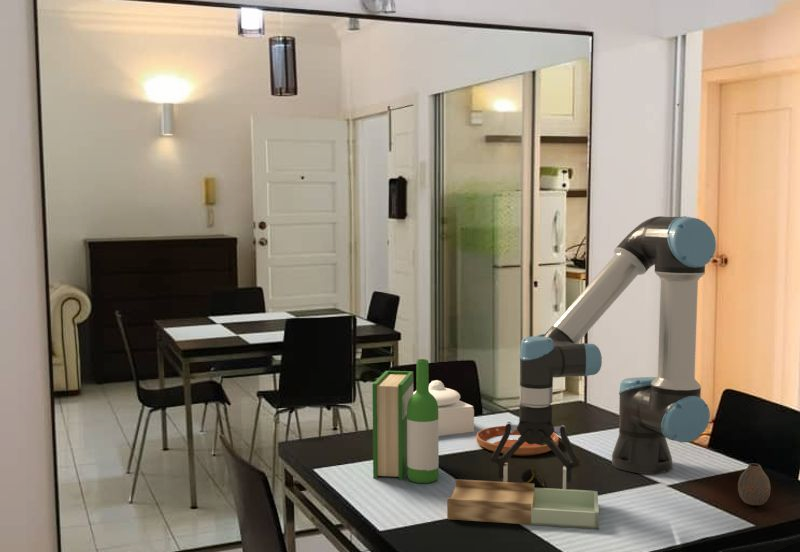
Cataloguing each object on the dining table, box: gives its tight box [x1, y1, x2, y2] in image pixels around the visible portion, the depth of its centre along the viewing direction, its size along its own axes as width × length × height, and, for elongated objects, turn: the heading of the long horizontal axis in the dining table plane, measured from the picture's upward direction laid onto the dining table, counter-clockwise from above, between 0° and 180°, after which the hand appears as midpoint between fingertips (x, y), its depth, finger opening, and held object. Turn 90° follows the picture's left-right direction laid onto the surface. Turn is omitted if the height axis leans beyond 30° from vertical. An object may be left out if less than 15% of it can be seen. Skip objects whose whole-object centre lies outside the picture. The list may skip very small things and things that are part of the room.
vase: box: [737, 462, 771, 506], centre depth 201 cm, size 7×7×9 cm
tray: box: [531, 487, 600, 530], centre depth 193 cm, size 14×15×4 cm
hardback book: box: [372, 370, 414, 481], centre depth 227 cm, size 18×7×24 cm, turn 170°
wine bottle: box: [406, 358, 440, 484], centre depth 218 cm, size 8×8×30 cm
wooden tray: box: [446, 478, 535, 526], centre depth 196 cm, size 18×14×4 cm
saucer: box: [476, 425, 560, 456], centre depth 248 cm, size 23×23×4 cm
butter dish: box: [413, 379, 475, 437], centre depth 265 cm, size 18×18×16 cm
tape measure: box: [520, 466, 549, 488], centre depth 205 cm, size 7×7×4 cm
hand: (534, 493), depth 206 cm, fingers open, 13 cm apart
